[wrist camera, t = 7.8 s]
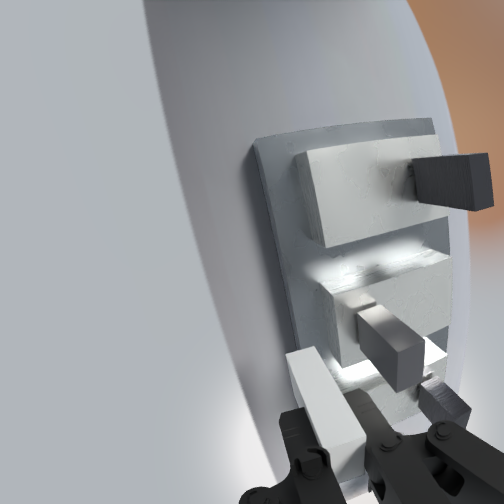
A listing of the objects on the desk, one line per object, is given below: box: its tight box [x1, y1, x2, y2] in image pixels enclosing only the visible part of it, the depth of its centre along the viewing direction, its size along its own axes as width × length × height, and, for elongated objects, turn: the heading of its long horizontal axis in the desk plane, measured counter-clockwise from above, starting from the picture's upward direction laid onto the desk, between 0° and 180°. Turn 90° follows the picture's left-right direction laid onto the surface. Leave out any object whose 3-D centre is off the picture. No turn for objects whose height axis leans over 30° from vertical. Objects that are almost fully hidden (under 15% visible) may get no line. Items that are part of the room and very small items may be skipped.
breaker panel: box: [253, 118, 494, 429], centre depth 17 cm, size 24×13×10 cm, turn 13°
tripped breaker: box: [357, 305, 426, 393], centre depth 15 cm, size 3×2×5 cm, turn 13°
